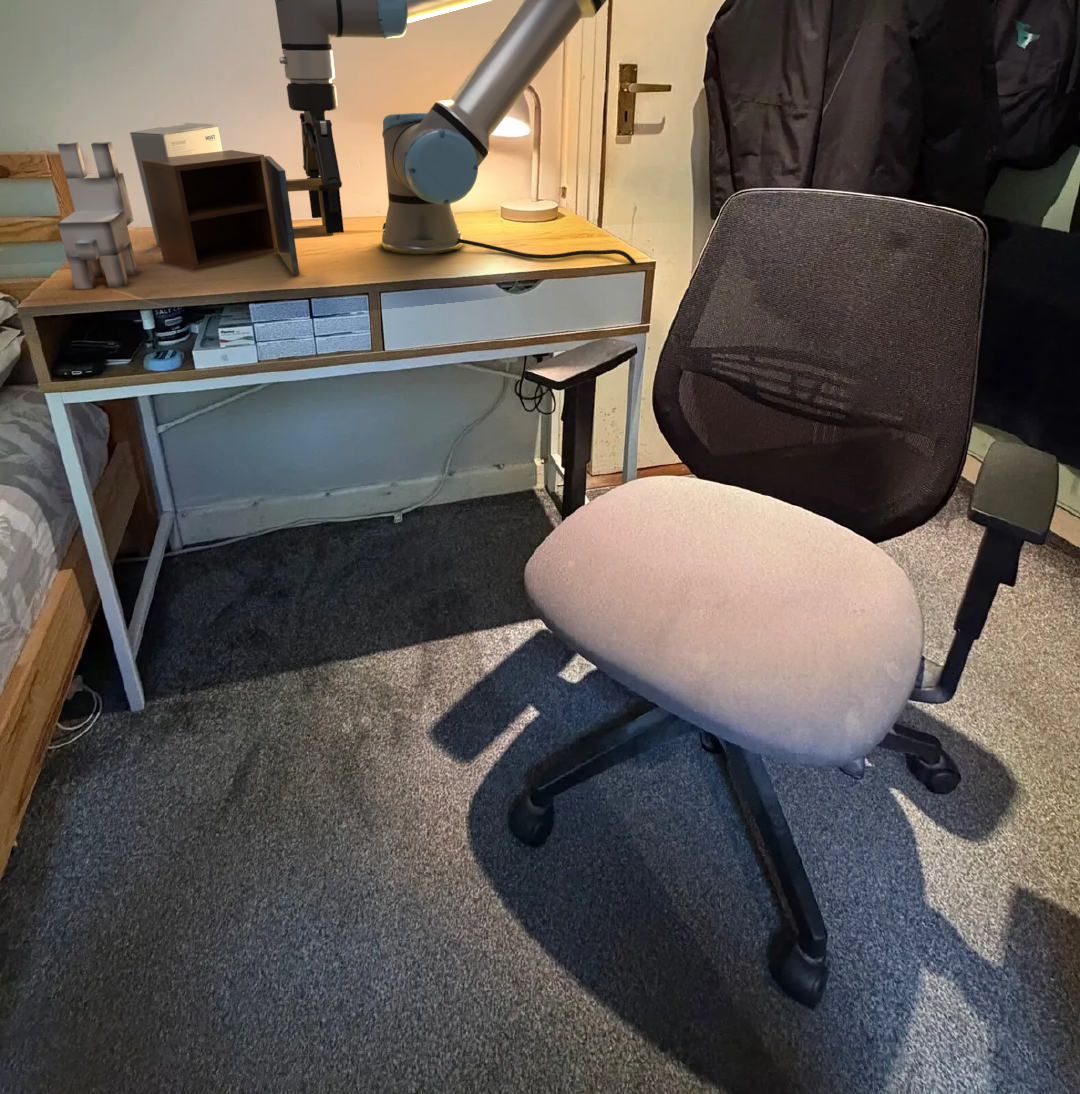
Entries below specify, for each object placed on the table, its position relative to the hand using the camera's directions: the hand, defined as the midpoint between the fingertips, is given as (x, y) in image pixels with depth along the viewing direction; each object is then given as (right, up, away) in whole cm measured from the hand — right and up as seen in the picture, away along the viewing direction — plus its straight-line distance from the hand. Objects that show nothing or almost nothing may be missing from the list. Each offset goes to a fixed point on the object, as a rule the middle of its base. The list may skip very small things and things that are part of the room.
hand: (327, 224), depth 143 cm
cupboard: (-22, -2, +11) cm, 24 cm away
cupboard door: (-6, -4, +8) cm, 11 cm away
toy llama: (-36, -10, -2) cm, 37 cm away
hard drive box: (-31, +6, +23) cm, 40 cm away
